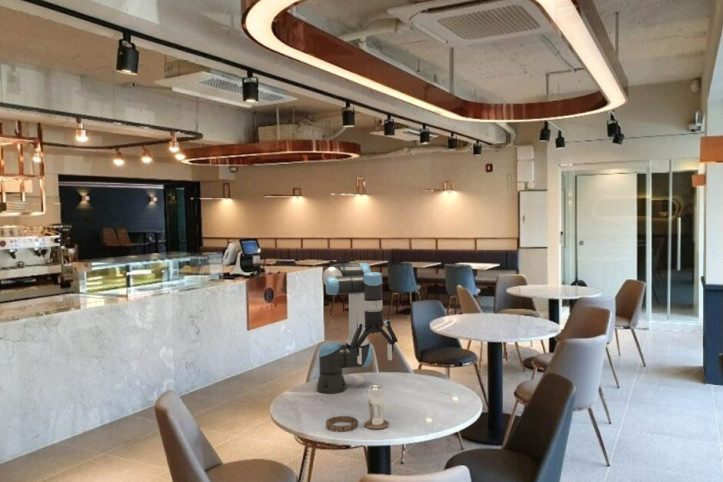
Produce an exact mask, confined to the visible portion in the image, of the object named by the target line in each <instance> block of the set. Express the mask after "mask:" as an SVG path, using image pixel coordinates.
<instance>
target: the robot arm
mask: <svg viewBox="0 0 723 482" xmlns="http://www.w3.org/2000/svg"><path fill="white" fill-rule="evenodd" d="M370 267H371V266H370V265H369V264H368V263H366V262H346V263H335V264H332V265H330V266H328V267H326V268H325V269H324V271H322V275H321V280H322V283H323V284H324V285H325V292H326V294H327V295H329V296H331V295H333V296H337V295H348V338H347V339H346V341H345V344H343V343H342V342H341V341H331V342H326V343H324V344H322V345H321V346H319V348H318V349H319V350H318V361H319V363H318V365H319V368H318V370H319V376H318V379H317V383H316V388H315V389H316V392H318V393H321V394H338V393H342V392H345V391H346V390H347V382H346V380H345V377H344V375H343V369H350V368H351V369H352V368H353V369H355V368H366V367H369V366H370V364H371V362H372V359H373V345H372V344H371V343H370V341H369V339H368V338H367V337H368V336H369V335H370V334H375V333H376V334H378V333H380V335H382V336H383V338H384V339H385V340H386V341H387V344H386V345H387V346H386V350H387V351H386V352H387V354H386V355H387V360H389V361H393V352H394V351H395V350H394V346H395V343H398V338H397V336H396V334H395V332H394V330H393V328H392V326H391V321H390V320H387V319H386V320H385V321H384V315H383V314H384V313H383V306H384V305H383V277H382V273H381V272H377V271H376V272H373V271H372V270H371V268H370ZM383 327H385V328H386V329H387V332H388V333H389V335H388V333H386V331H385V330H384V329H383Z"/></svg>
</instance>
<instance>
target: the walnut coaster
mask: <svg viewBox="0 0 723 482" xmlns="http://www.w3.org/2000/svg"><path fill="white" fill-rule="evenodd" d="M383 420H384V424H383V425H379V426H373V425H370V424H369V421H370V419H368V420H366V421H364V428H365V429H367V430H372V431H380V430H386V429H387V428H389V427H390V426H389V425H390V424H389V421H388V420H385V419H383Z"/></svg>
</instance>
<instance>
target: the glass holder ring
mask: <svg viewBox="0 0 723 482" xmlns="http://www.w3.org/2000/svg"><path fill="white" fill-rule="evenodd" d="M336 423H349V424H345V425H336ZM358 427H359V419H357V418H356V417H354V416H348V415H339V416H338V415H337V416H334V417H330V418H328V419H327V420H326V421H325V428H326V429H327V431H330V430H331V432H334V431H335V432H336V431H337V432H336V433H346V432H351V431H354V430H356V429H357V428H358Z"/></svg>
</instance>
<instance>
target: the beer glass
mask: <svg viewBox="0 0 723 482" xmlns="http://www.w3.org/2000/svg"><path fill="white" fill-rule="evenodd" d="M366 395H367V405H368V410H369V411H368V412H369V420H370V421H369V424H370V425H373V426H379V425H383V424H384V420H385V419H384V416H383V415H384V414H383V413H384V407H385V389H384V386H383V385H381V384H380V385H379V384H373V385H368V386H367V394H366Z"/></svg>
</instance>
